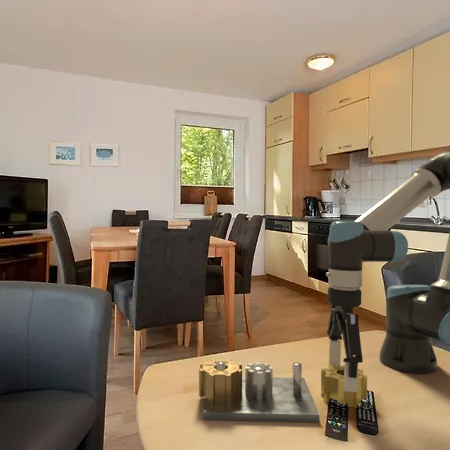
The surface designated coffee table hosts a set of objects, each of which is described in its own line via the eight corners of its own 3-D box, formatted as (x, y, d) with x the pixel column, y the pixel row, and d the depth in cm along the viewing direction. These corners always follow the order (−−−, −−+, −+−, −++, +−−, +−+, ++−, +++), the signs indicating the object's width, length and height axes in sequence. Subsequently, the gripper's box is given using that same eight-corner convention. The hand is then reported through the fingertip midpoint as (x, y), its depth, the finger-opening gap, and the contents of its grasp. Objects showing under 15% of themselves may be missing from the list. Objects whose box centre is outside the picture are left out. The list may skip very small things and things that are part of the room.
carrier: (304, 384, 95) (304, 350, 95) (319, 422, 77) (319, 381, 77) (209, 382, 96) (209, 349, 96) (203, 419, 78) (203, 378, 78)
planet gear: (358, 389, 92) (358, 364, 92) (372, 409, 83) (372, 382, 82) (317, 388, 93) (318, 364, 93) (327, 408, 83) (327, 381, 83)
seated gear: (241, 383, 91) (241, 359, 91) (242, 403, 82) (242, 376, 81) (201, 382, 92) (201, 358, 92) (197, 402, 82) (197, 375, 82)
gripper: (317, 278, 100) (314, 358, 100) (343, 297, 75) (340, 402, 75) (345, 279, 100) (343, 359, 100) (381, 298, 75) (378, 404, 75)
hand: (341, 378), depth 87 cm, fingers open, 13 cm apart
